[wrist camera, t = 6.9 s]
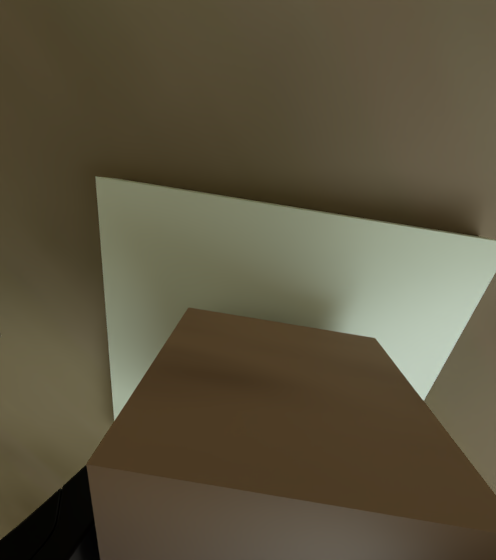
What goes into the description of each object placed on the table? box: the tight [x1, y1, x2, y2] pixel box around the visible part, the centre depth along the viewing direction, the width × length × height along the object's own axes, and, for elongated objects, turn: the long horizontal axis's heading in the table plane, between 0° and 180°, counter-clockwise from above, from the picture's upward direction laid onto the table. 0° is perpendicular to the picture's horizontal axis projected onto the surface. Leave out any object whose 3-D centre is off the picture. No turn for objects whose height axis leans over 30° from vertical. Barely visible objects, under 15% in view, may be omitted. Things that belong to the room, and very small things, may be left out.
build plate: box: [95, 176, 496, 421], centre depth 11 cm, size 14×14×1 cm
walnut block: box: [86, 307, 496, 560], centre depth 7 cm, size 6×6×5 cm
